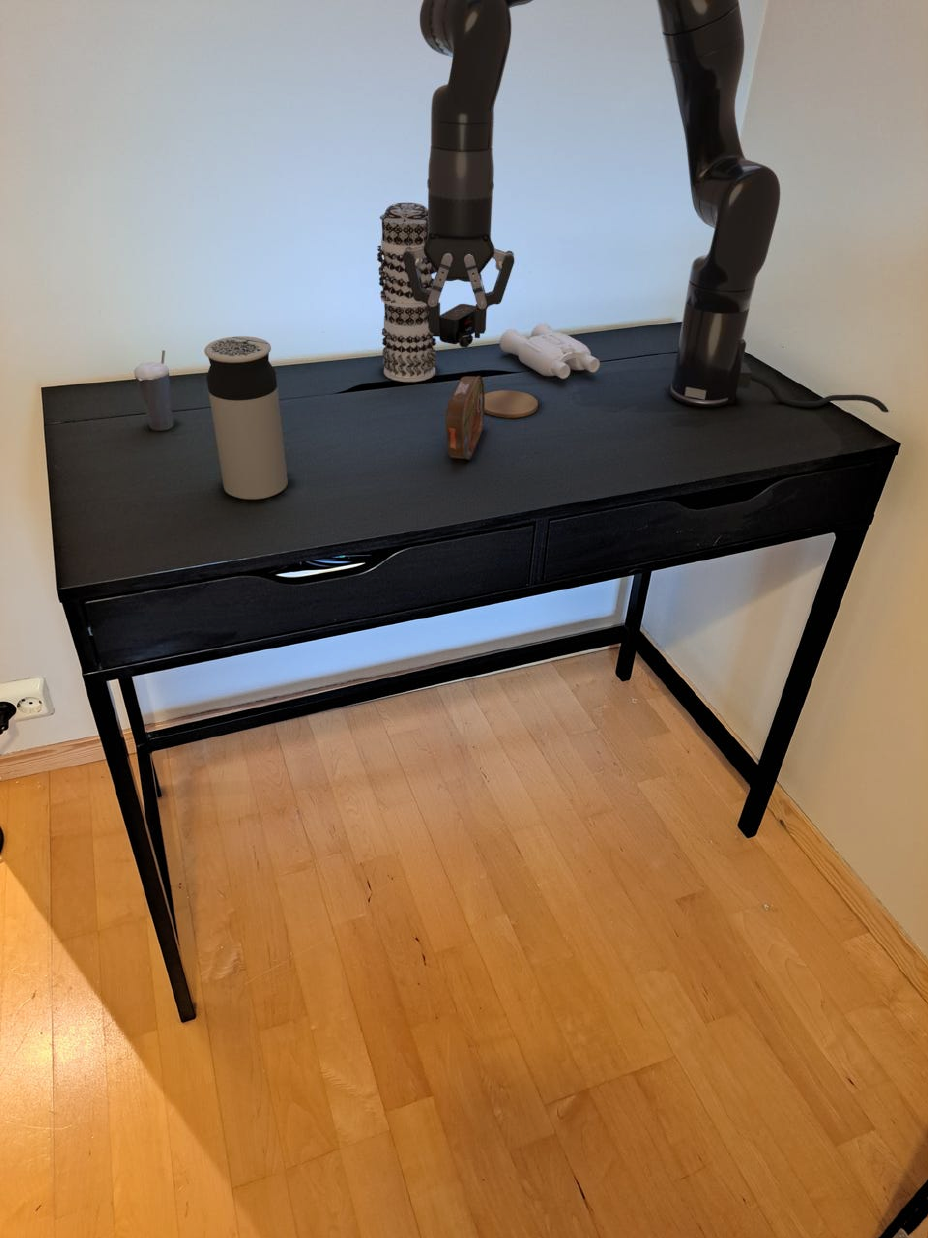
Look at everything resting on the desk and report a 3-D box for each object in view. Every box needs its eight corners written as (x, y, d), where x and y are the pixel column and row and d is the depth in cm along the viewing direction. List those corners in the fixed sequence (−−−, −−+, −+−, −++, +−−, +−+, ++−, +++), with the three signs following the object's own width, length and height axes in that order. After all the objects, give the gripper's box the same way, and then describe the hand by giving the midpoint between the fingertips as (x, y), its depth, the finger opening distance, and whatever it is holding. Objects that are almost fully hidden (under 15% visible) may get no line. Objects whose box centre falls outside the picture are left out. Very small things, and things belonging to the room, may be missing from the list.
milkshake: (189, 421, 129) (177, 353, 123) (164, 435, 125) (150, 365, 119) (163, 415, 131) (150, 347, 125) (138, 429, 127) (123, 359, 121)
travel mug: (258, 508, 109) (238, 364, 99) (210, 490, 113) (186, 349, 102) (301, 482, 115) (287, 343, 104) (254, 466, 118) (236, 330, 108)
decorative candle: (369, 374, 144) (362, 207, 129) (402, 357, 151) (399, 196, 136) (416, 387, 141) (414, 216, 126) (448, 369, 147) (450, 204, 132)
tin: (465, 470, 118) (466, 410, 113) (442, 467, 119) (442, 407, 114) (486, 423, 130) (488, 367, 125) (464, 421, 131) (465, 365, 126)
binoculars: (548, 345, 157) (550, 318, 154) (604, 376, 146) (607, 347, 143) (497, 354, 153) (499, 327, 150) (551, 387, 142) (553, 358, 139)
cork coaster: (537, 394, 139) (537, 390, 139) (538, 418, 132) (539, 414, 132) (479, 392, 139) (479, 388, 139) (477, 416, 132) (477, 412, 132)
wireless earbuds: (434, 344, 113) (434, 318, 111) (460, 327, 118) (461, 303, 116) (466, 351, 111) (467, 325, 110) (492, 334, 117) (493, 309, 115)
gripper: (521, 185, 107) (512, 327, 117) (401, 180, 107) (403, 323, 117) (522, 198, 101) (513, 348, 111) (396, 193, 101) (398, 343, 111)
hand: (456, 334), depth 114 cm, fingers closed on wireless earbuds, 4 cm apart
